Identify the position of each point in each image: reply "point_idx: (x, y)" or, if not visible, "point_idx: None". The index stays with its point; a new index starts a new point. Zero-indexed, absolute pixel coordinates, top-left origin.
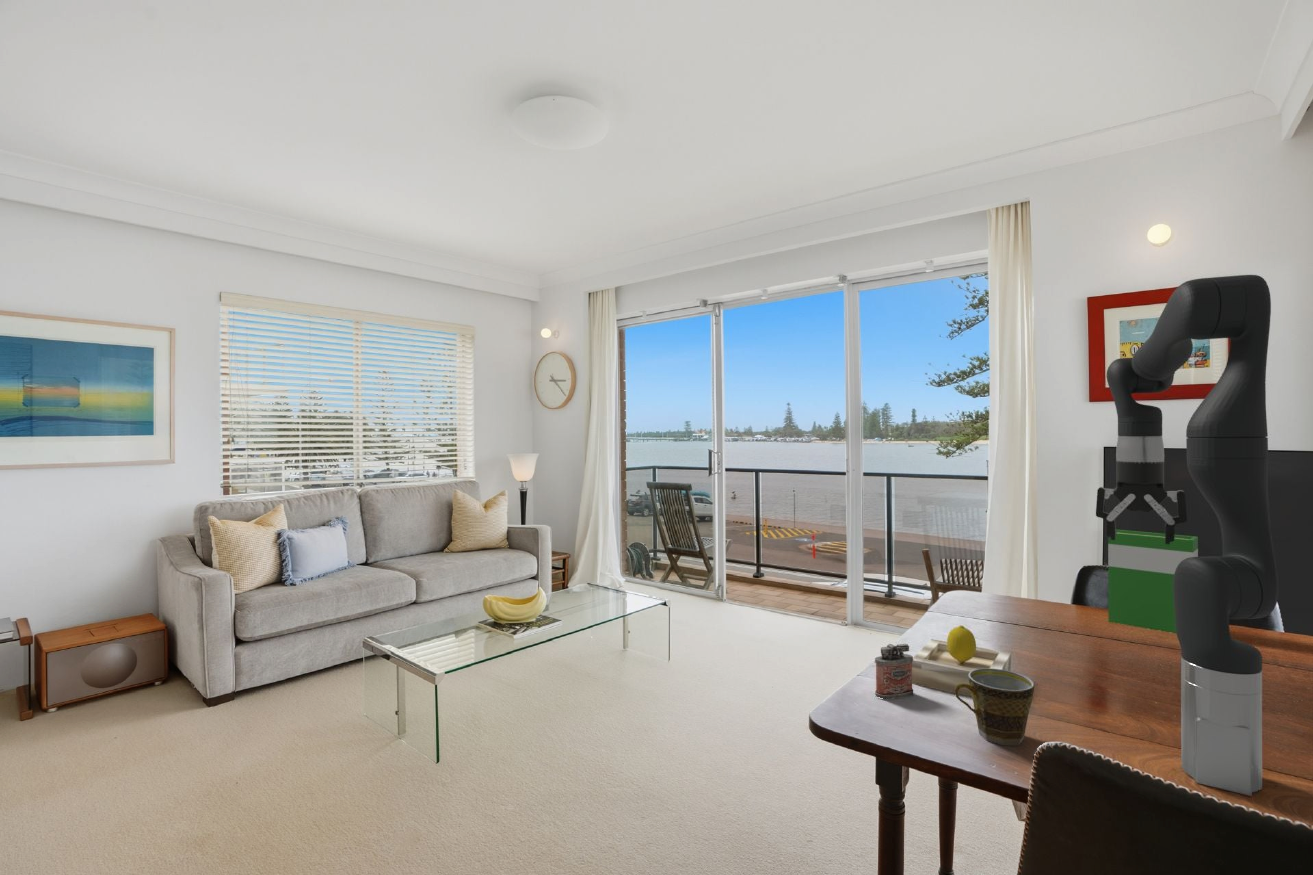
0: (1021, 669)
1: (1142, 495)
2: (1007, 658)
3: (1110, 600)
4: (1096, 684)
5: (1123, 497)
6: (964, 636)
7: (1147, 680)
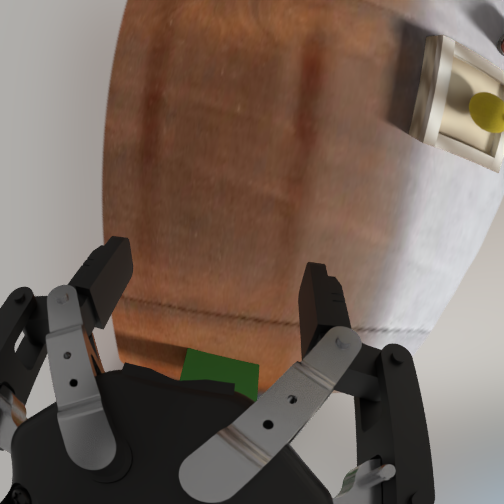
0: (392, 166)
1: (133, 476)
2: (430, 115)
3: (256, 384)
4: (305, 144)
5: (270, 477)
6: (497, 100)
7: (239, 190)
